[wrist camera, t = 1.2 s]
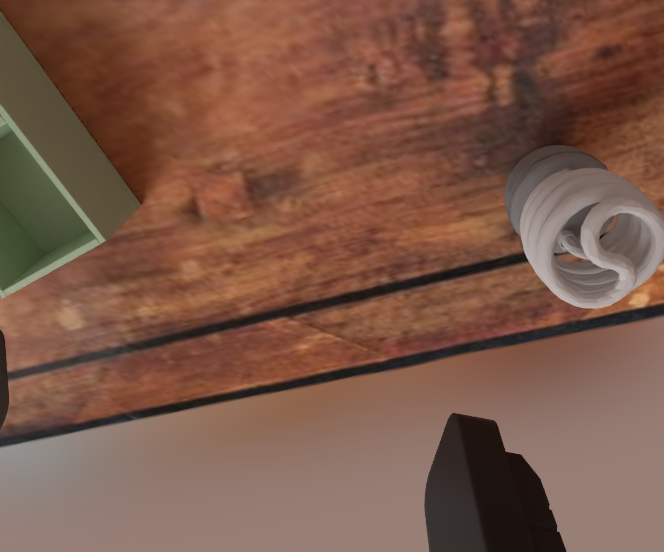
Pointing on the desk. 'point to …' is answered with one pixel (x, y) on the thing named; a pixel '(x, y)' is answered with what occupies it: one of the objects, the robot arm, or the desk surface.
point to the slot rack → (48, 174)
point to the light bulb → (583, 225)
